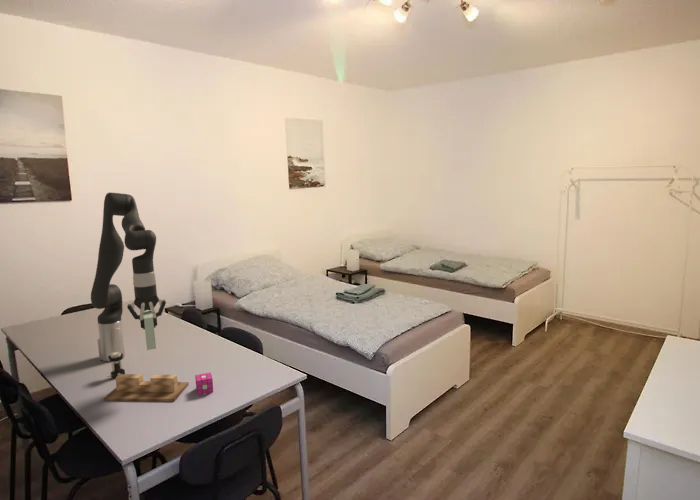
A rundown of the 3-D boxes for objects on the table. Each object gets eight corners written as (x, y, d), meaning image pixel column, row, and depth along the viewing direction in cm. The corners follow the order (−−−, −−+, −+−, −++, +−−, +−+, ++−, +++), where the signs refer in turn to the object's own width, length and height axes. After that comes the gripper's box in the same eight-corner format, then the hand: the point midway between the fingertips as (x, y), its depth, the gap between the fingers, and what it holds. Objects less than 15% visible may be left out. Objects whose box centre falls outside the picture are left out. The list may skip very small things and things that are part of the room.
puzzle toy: (197, 395, 163) (196, 381, 162) (196, 388, 168) (195, 374, 167) (213, 392, 165) (212, 378, 164) (211, 386, 171) (210, 372, 170)
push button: (110, 382, 174) (108, 358, 172) (104, 378, 177) (102, 355, 175) (127, 376, 179) (125, 352, 177) (121, 372, 182) (118, 349, 180)
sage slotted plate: (145, 336, 174) (143, 307, 172) (154, 335, 175) (151, 306, 173) (147, 350, 159) (143, 318, 157) (156, 348, 161) (152, 317, 159)
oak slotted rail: (104, 400, 159) (102, 383, 158) (123, 383, 172) (121, 368, 171) (174, 401, 159) (173, 384, 158) (188, 384, 171) (187, 369, 170)
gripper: (164, 279, 170) (168, 322, 172) (124, 283, 164) (128, 328, 166) (165, 283, 163) (169, 327, 166) (123, 288, 157) (128, 334, 160)
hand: (149, 327), depth 166 cm, fingers closed on sage slotted plate, 3 cm apart
